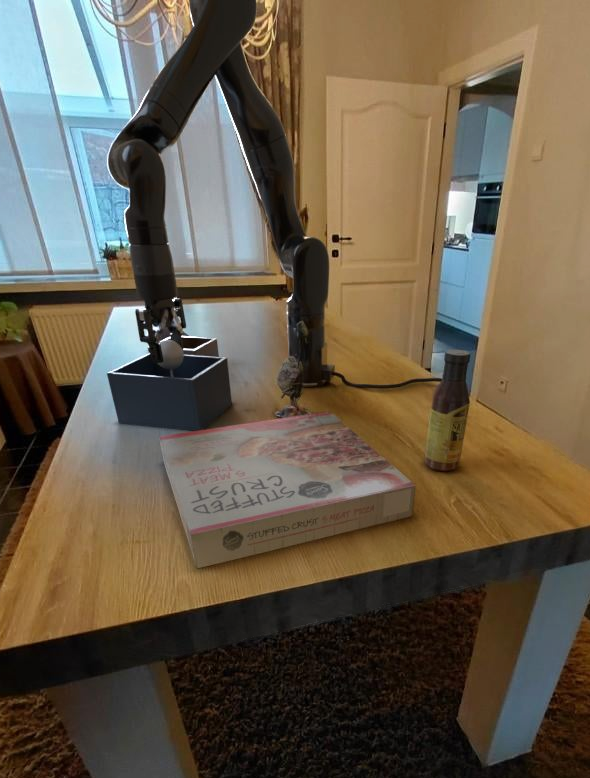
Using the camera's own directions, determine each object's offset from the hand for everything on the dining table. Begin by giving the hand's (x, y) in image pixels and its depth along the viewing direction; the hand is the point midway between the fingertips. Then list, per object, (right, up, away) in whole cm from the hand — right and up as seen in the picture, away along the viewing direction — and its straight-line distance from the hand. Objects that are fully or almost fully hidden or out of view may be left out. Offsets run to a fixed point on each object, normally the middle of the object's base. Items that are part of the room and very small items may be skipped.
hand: (168, 357), depth 102 cm
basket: (-7, +8, +35) cm, 37 cm away
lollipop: (0, -10, +6) cm, 12 cm away
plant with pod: (+25, -11, +6) cm, 28 cm away
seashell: (-18, +21, +57) cm, 63 cm away
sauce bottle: (+54, -24, -14) cm, 60 cm away
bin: (0, -10, +7) cm, 12 cm away
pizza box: (+25, -28, -21) cm, 44 cm away
